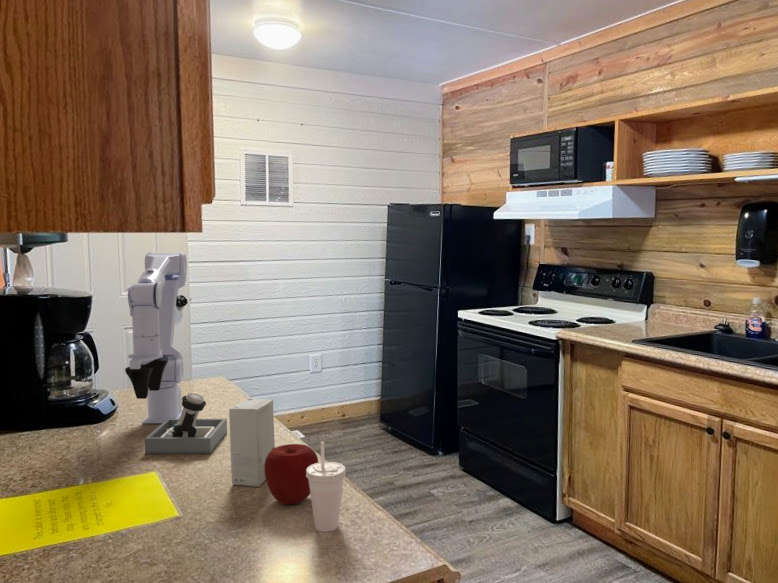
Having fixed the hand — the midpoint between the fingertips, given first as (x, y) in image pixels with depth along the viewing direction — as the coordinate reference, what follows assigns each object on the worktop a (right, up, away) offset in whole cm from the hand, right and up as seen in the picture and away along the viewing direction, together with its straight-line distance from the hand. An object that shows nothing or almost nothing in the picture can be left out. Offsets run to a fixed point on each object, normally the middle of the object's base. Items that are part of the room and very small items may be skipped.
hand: (148, 394), depth 142 cm
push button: (+8, -9, -3) cm, 13 cm away
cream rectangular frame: (+10, -11, -2) cm, 15 cm away
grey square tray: (+10, -11, -2) cm, 15 cm away
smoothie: (+45, -15, -42) cm, 63 cm away
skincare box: (+29, -13, -22) cm, 39 cm away
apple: (+38, -14, -32) cm, 52 cm away
